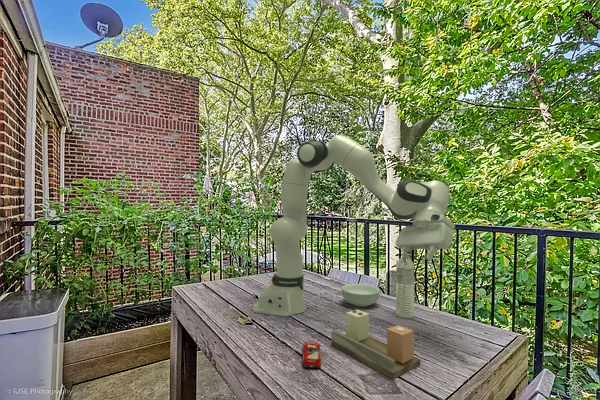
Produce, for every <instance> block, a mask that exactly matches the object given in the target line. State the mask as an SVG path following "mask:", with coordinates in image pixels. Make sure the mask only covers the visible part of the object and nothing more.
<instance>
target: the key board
mask: <svg viewBox="0 0 600 400" xmlns="http://www.w3.org/2000/svg"><path fill="white" fill-rule="evenodd" d="M330 335H331V341H330V342H331V343H330V344H331V346H332V347H334V348H336V349H337V350H340V351H341V352H343V353H345V354H347V355H348V356H351V357H352V358H354V359H356V360H358V361H359V362H361V363H362V364H365V365H366V366H368V367H370V368H371V369H374V370H375V371H377V372H379V373H380V374H382V375H384V376H386V377H388V378H390V379H392V380H395V379H396V378H398V377H400V376H402V375H404V374H406V373H408V372H409V371H412V370H413V369H415V368H417V367H419V366H420V365H421V359H420V358H418V357H416V356H414V358H413V359H411V360H409V361H407V362H405V363H403V364H402V363H400V362H398V361H396V360H394V359H392V358H390V357H388V356H387V343H385V342H382V341H381V340H378V339H376V338H374V337H372V336H370V335H369V338H367V339H364V340H361V341H356V340H353V339H351V338H349V337H347V336H346V334H343V333H341V332H340V331H337V330H336V329H333V330H331V334H330Z"/></svg>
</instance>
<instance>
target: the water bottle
mask: <svg viewBox="0 0 600 400" xmlns="http://www.w3.org/2000/svg"><path fill="white" fill-rule="evenodd" d="M402 254H403V253H402ZM402 254H401V255H402ZM395 268H396V270H395V271H396V283H395V284H396V285H395V291H396V292H395V298H396V299H395V311H396V312H395V313H396V315H397V316H398V317H399V318H402V319H406V320H407V319H412V318H414V316H415V283H414V282H415V275H414V273H415V272H414V271H415V269H414V268H415V264H414V262H413V261H412V259H411V258H410V257H409V258H408V260H403V259H402V256H401V257H400V258H398V260H397V261H396V263H395Z"/></svg>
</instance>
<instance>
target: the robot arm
mask: <svg viewBox="0 0 600 400" xmlns="http://www.w3.org/2000/svg"><path fill="white" fill-rule="evenodd" d="M296 157H297V158H292V159H290V160H288V162H287V164H286V166H285V171H284V175H283V177H282V178H283V179H282V187H281V195H280V203H281V207H282V217H279V218H278V219H277V220H275V221H274V222H272V223H271V225H270V228H269V236H270V238H271V240H273V245H274V249H275V254H276V273H274V274H273V275H272V277H271V284H269V286H267V287H266V288H265V289H264V290H263V291H262V292H261V293H260V294H259V297H258V301H257V302H255V304H254V305H253V306H252V312H253V313H258V314H264V315H272V316H277V317H290V316H292V315H297V314H301V313H304V312H306V311H307V306H306V301H305V294H304V288H305V276H304V274H303V271H304V269H303V266H304V265H303V263H304V260H303V254H302V252H301V247H300V241H301V240H302V239H304V237H305V236H306V234H307V233H308V231H309V230H308V223H307V222H308V220H307V219H308V218H307V217H308V215H307V203H308V194H309V184H310V178H311V175H312V174H318V173H323V172H326V171H329V170H331V169H332V168H333V167H334V166H335V163H336V164H337V165H339V166H340V167H341V168H343V169H345V170H346V171H347V172H349V173H350V174H351V175H352V176H353V177H354V178H356V180H358V181H359V182H360V184H361V185H362V186H364V187H365V188H366V190H368V191H369V192H370V193H371V194H372V195H373V196H375V197H377V199H378V200H379V201H381V202H382V203H383V204H384V205H385V206H386V207H387V210H389V212H390V213H391V215H392V216H394V217H395V218H396V219H399V220H402V221H403V220H410V219H412V218H413V221H412V224H409V225H406V226H404V228H402V229H401V230H400V232H399V233H398V236H397V238H396V240H395V242H394V243H395V246H396V247H397V248H398V249H400V250H401V252H402V253H403V254H401V257H402V259H403V260H408V258H409V259H410V255H409V254H408V252H410V251H411V250H428V252H427V253H426V252H425V254H424V260H426V261H428V262H429V261H432V260H433V257H434V256H435V255H436V254H437V253H438V252H439V250H441V249H446V250H447V249H449V248H450V247H451V245H452V243H453V238H454V233H455V232H454V230H455V227H456V224H454V222H452V221H451V220H450V219H448V218H447V217H446V216H444V214H445V212H446V211H447V209H448V205H449V201H450V195H451V193H450V189H449V187H448V185H447V184H446V183H444V182H442V181H440V180H435V179H434V180H431V181H430V180H428V181H418V180H415V179H404V180H402V181H401V182H399V183H398V184H397V187H396V189H395V190H394V189H393V188H392V187H390V186H389V185H388V184H386V182H384V181H383V180H382V179H381V178H380V176H379V173H378V171H377V168H376V162H375V158H374V155H373V154H372V152H370V150H368V148H366V147H365V146H364V145H362V144H360V143H359V142H358V141H356V140H354V139H351V138H350V137H348V136H344V135H343V134H337V135H334V136H333V137H331V138H330V139H329V141H328V142H327V143H326V142H325V141H324V140H307V141H304V142H302V143H301V144H300V145H299V146H298V149H297V151H296Z"/></svg>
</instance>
